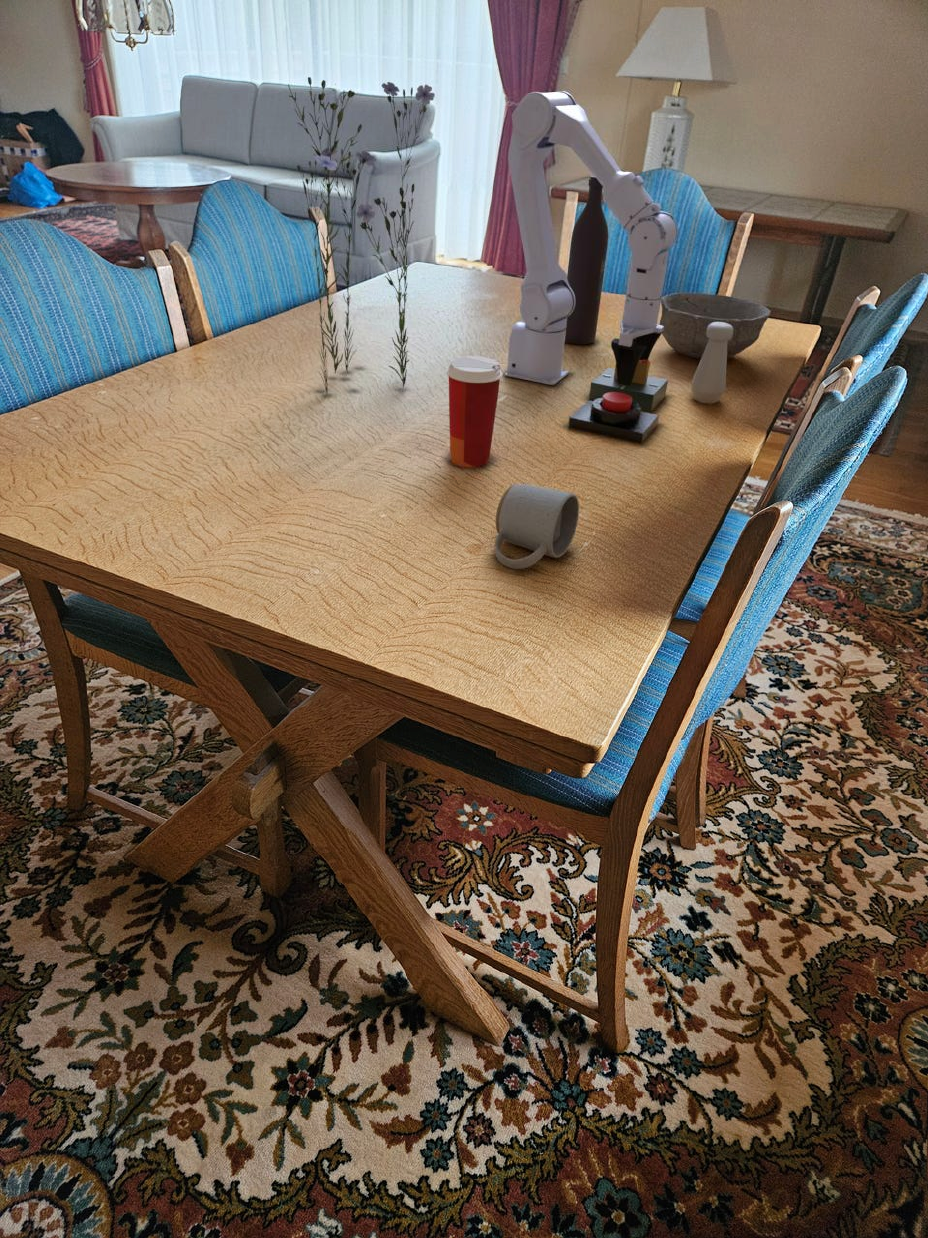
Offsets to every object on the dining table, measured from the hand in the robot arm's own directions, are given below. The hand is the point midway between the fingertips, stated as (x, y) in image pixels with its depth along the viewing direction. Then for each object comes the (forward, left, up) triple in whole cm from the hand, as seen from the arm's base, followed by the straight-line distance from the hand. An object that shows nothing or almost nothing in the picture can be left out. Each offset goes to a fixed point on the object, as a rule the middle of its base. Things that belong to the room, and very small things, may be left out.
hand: (630, 377), depth 147 cm
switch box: (+2, -14, -3) cm, 15 cm away
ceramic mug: (+6, -58, -4) cm, 58 cm away
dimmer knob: (0, 0, 0) cm, 0 cm away
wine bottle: (-19, +27, -4) cm, 33 cm away
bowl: (+6, +32, -4) cm, 33 cm away
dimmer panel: (0, 0, -3) cm, 3 cm away
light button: (+2, -14, 0) cm, 14 cm away
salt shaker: (+12, +7, -4) cm, 14 cm away
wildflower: (-41, -19, -4) cm, 45 cm away
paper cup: (-12, -38, -4) cm, 40 cm away
